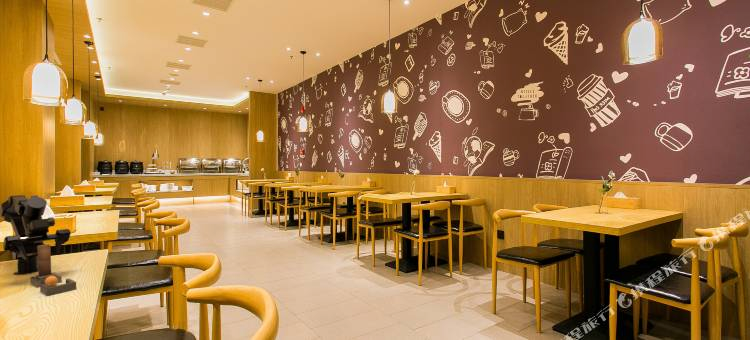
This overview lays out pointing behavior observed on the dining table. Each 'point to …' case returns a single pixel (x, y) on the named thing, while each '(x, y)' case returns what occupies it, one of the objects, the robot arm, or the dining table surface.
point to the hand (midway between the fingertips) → (43, 256)
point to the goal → (58, 288)
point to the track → (36, 283)
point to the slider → (44, 263)
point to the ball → (51, 281)
